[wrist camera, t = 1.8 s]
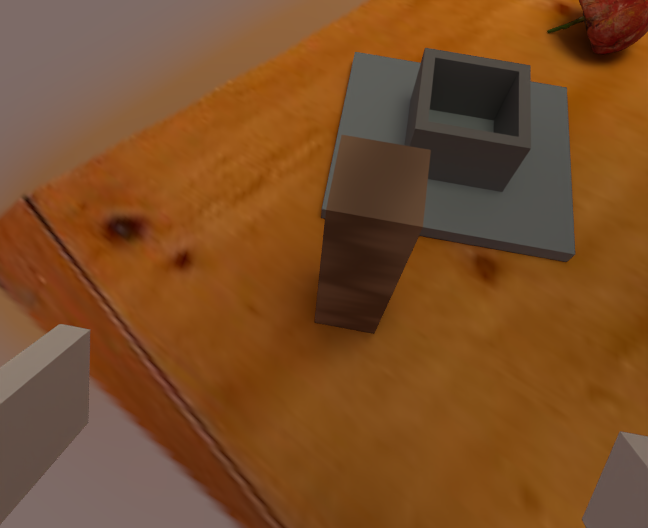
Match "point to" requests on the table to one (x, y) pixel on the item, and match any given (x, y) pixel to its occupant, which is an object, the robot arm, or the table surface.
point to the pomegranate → (612, 23)
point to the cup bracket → (473, 146)
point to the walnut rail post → (369, 229)
